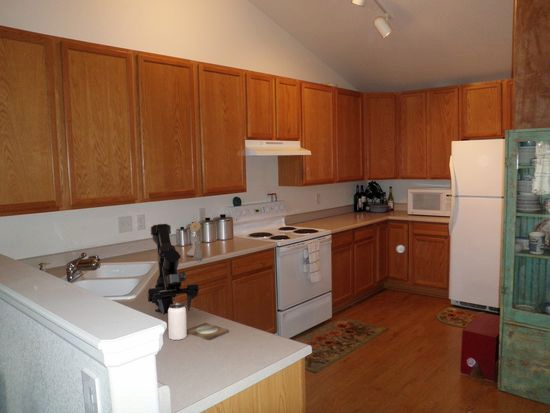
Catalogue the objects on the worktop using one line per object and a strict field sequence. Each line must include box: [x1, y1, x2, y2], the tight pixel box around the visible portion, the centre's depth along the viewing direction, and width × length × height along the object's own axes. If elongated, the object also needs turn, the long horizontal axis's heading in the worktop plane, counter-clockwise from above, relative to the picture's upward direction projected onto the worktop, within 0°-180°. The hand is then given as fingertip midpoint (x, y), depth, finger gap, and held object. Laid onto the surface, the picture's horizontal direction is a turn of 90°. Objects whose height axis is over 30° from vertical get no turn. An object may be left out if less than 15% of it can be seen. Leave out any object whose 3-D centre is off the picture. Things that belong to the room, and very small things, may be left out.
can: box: [167, 303, 188, 341], centre depth 163 cm, size 6×6×12 cm
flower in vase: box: [186, 220, 203, 257], centre depth 316 cm, size 13×11×25 cm
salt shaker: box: [193, 240, 203, 261], centre depth 301 cm, size 6×6×13 cm
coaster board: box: [187, 322, 230, 341], centre depth 168 cm, size 13×10×1 cm
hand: (176, 312), depth 164 cm, fingers open, 9 cm apart
